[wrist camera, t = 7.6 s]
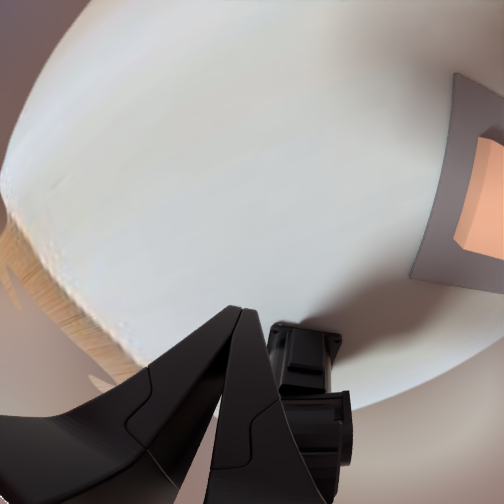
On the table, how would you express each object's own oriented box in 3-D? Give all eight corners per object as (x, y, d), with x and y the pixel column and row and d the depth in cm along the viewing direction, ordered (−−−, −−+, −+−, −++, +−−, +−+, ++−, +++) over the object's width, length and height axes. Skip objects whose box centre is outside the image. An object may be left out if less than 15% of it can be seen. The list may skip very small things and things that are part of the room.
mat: (502, 291, 18) (503, 294, 17) (409, 275, 19) (410, 278, 19) (548, 133, 10) (550, 134, 10) (454, 73, 12) (456, 73, 11)
